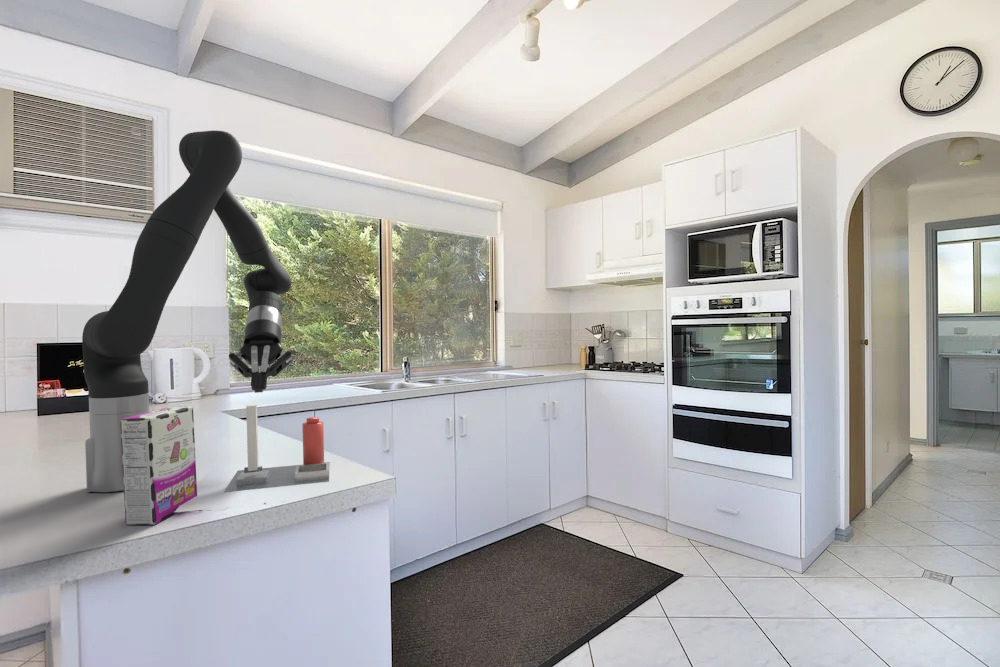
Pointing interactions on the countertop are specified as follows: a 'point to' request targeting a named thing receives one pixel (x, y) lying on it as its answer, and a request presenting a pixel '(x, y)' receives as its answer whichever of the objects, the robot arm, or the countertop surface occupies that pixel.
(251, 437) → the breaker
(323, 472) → the panel
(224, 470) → the countertop surface
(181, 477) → the candy bar box
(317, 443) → the red cylindrical peg
